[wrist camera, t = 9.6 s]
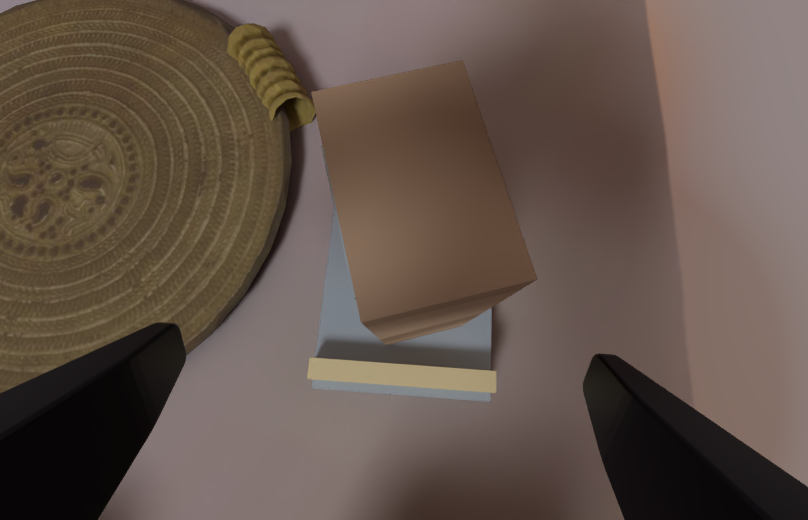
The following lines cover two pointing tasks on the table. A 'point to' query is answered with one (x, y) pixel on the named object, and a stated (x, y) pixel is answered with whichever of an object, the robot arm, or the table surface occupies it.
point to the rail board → (395, 349)
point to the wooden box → (419, 202)
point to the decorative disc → (134, 172)
